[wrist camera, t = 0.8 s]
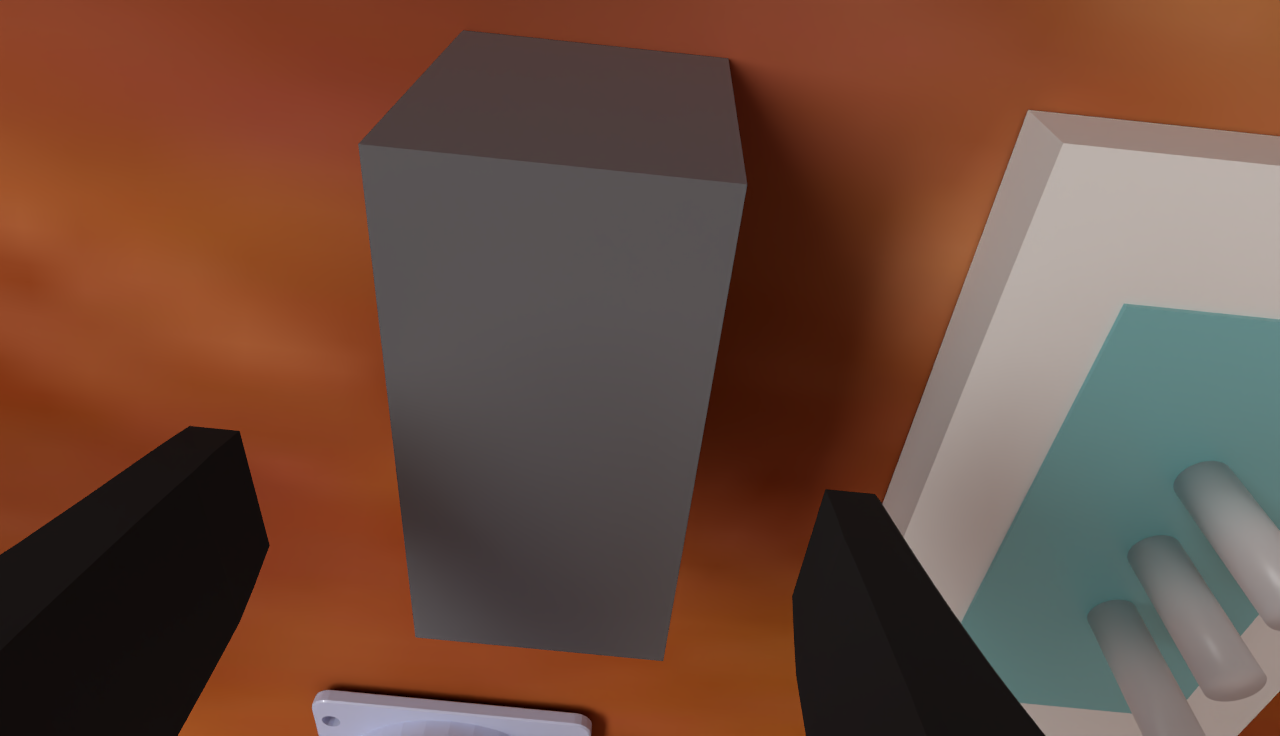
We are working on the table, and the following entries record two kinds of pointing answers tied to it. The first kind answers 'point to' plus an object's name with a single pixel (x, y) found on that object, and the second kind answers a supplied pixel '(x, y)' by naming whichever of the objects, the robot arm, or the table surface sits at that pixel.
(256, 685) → the table surface
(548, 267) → the block
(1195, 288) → the pin board
